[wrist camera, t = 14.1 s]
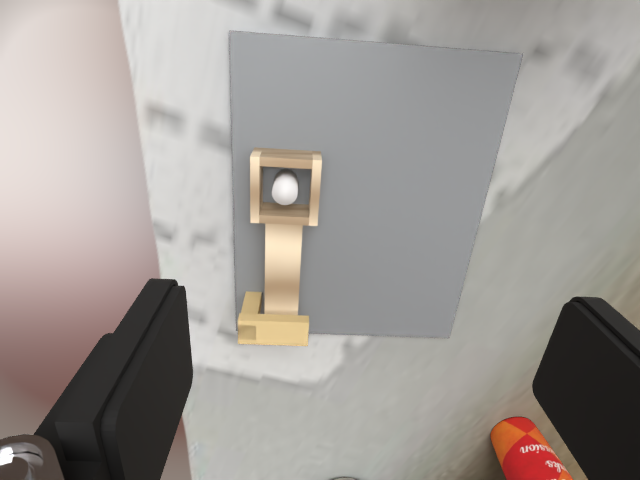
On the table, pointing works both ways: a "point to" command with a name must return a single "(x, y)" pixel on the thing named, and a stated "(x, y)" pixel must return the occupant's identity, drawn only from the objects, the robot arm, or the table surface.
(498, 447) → the paper cup
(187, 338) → the robot arm
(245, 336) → the slate base
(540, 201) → the table surface
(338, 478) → the can
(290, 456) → the table surface
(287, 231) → the wooden link
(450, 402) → the table surface
